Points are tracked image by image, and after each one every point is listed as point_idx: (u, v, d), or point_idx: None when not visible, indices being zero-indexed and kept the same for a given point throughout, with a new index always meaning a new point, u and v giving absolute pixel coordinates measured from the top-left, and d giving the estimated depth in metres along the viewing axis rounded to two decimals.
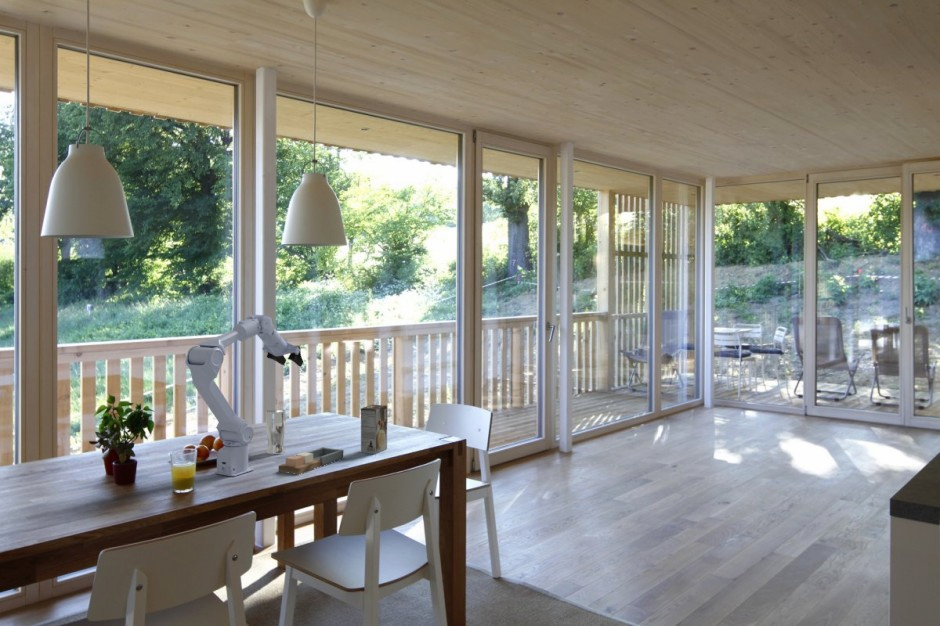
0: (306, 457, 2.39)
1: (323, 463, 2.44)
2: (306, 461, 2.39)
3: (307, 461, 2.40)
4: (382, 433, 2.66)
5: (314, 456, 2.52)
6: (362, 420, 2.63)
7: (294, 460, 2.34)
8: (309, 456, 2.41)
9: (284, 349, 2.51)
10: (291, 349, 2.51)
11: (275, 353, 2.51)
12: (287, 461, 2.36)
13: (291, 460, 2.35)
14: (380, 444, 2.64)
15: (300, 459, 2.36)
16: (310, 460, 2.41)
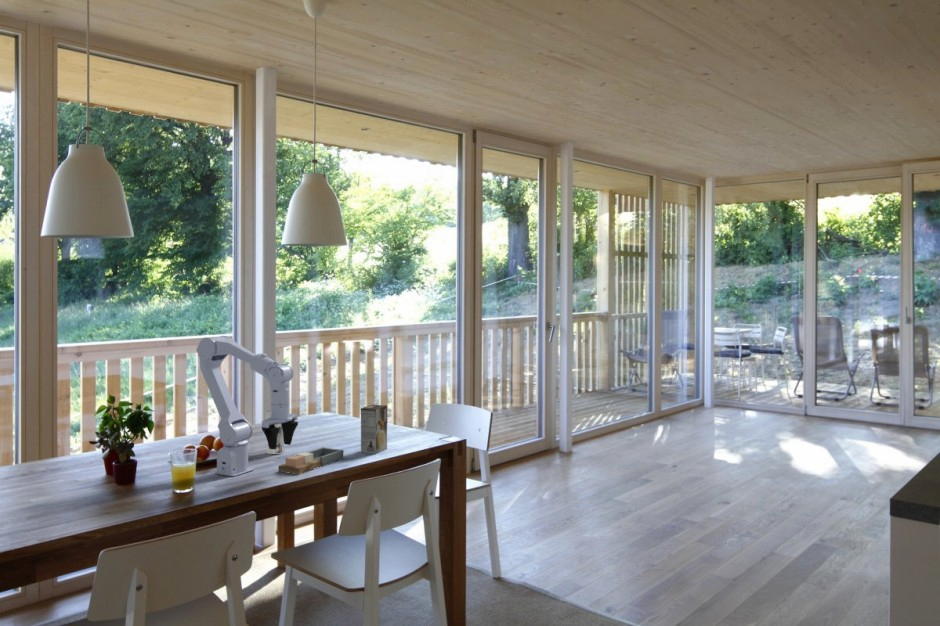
0: (306, 457, 2.39)
1: (323, 463, 2.44)
2: (306, 461, 2.39)
3: (307, 461, 2.40)
4: (382, 433, 2.66)
5: (314, 456, 2.52)
6: (362, 420, 2.63)
7: (294, 460, 2.34)
8: (309, 456, 2.41)
9: (272, 417, 2.28)
10: (268, 420, 2.25)
11: None
12: (287, 461, 2.36)
13: (291, 460, 2.35)
14: (380, 444, 2.64)
15: (300, 459, 2.36)
16: (310, 460, 2.41)
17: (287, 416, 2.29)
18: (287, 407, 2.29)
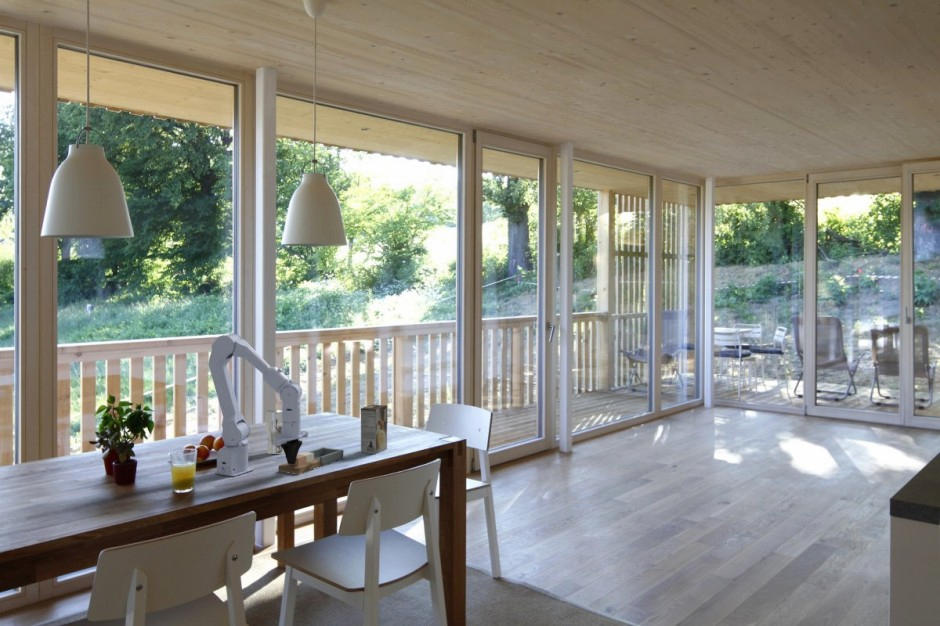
0: (307, 457, 2.40)
1: (323, 463, 2.44)
2: (307, 461, 2.40)
3: (308, 461, 2.40)
4: (382, 432, 2.66)
5: (314, 456, 2.52)
6: (362, 420, 2.63)
7: (297, 459, 2.36)
8: (310, 456, 2.41)
9: (283, 435, 2.33)
10: None
11: None
12: None
13: None
14: (380, 444, 2.64)
15: (303, 458, 2.38)
16: (311, 460, 2.42)
17: (298, 434, 2.34)
18: (298, 425, 2.34)
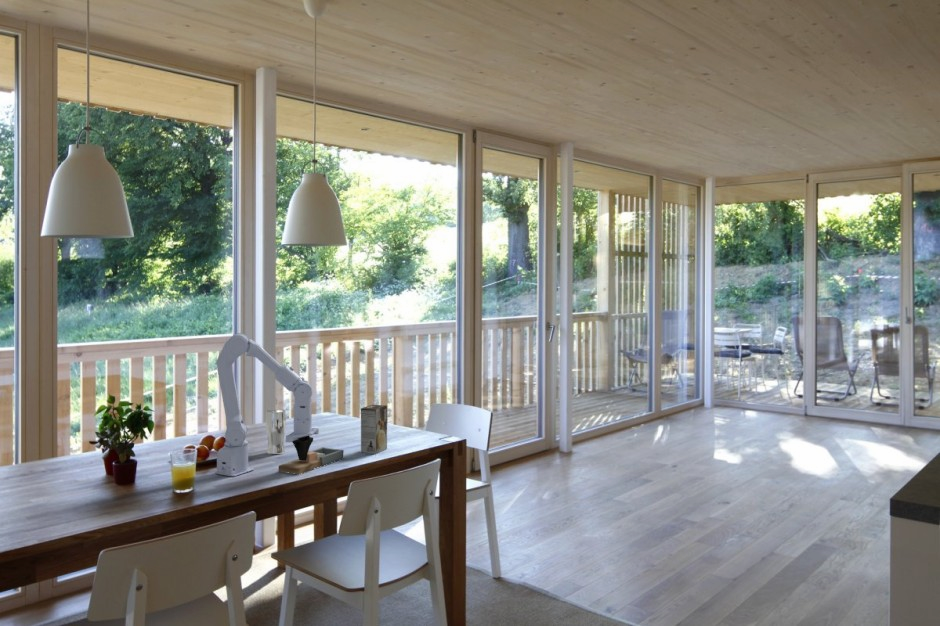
0: (318, 455, 2.45)
1: (323, 463, 2.44)
2: (318, 459, 2.45)
3: (319, 459, 2.45)
4: (382, 432, 2.66)
5: None
6: (362, 420, 2.63)
7: (308, 455, 2.41)
8: (321, 455, 2.46)
9: (295, 432, 2.38)
10: (291, 435, 2.36)
11: None
12: None
13: None
14: (380, 444, 2.64)
15: (314, 454, 2.43)
16: None
17: (309, 431, 2.39)
18: (309, 422, 2.39)
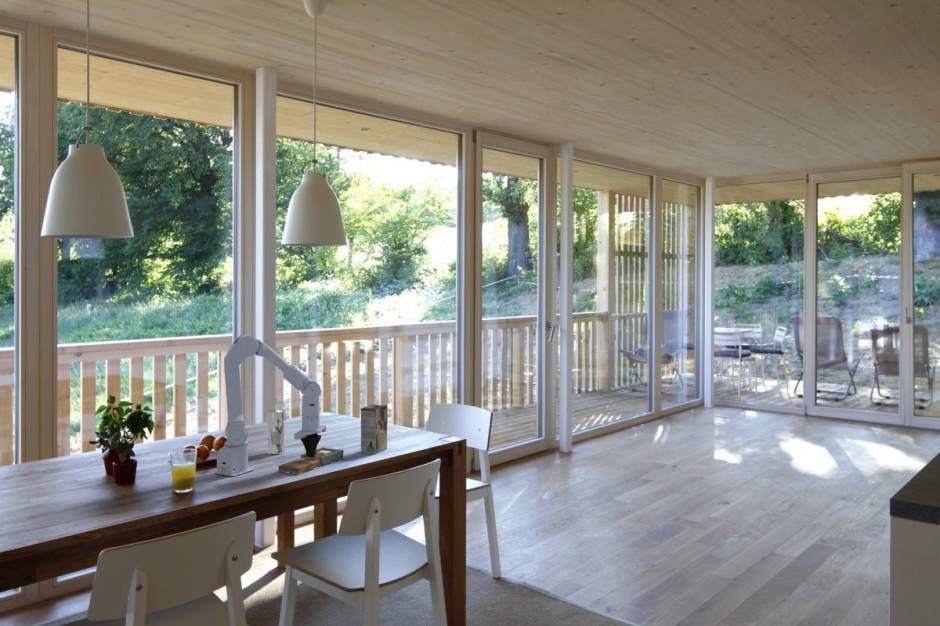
0: None
1: (323, 463, 2.44)
2: None
3: None
4: (382, 432, 2.66)
5: None
6: (362, 420, 2.63)
7: (316, 452, 2.45)
8: None
9: (303, 429, 2.42)
10: (300, 432, 2.39)
11: None
12: None
13: None
14: (380, 444, 2.64)
15: (321, 454, 2.46)
16: None
17: (317, 428, 2.43)
18: (317, 420, 2.43)
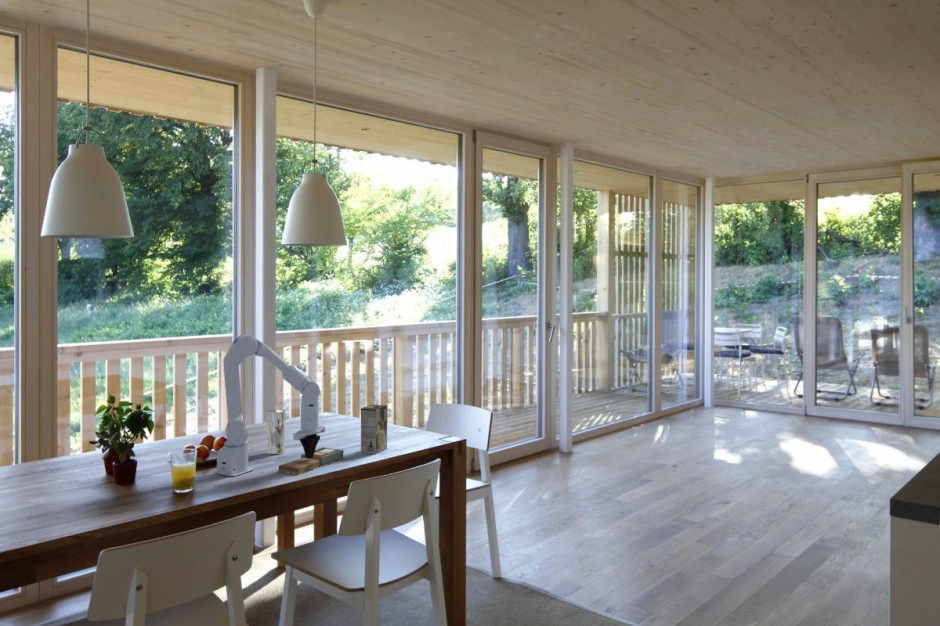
0: (329, 453, 2.50)
1: (323, 463, 2.44)
2: None
3: None
4: (382, 433, 2.66)
5: None
6: (362, 420, 2.63)
7: (319, 456, 2.46)
8: (332, 452, 2.52)
9: (302, 430, 2.41)
10: (299, 433, 2.39)
11: None
12: None
13: (316, 456, 2.47)
14: (380, 444, 2.64)
15: (324, 455, 2.48)
16: None
17: (316, 429, 2.42)
18: (316, 420, 2.42)
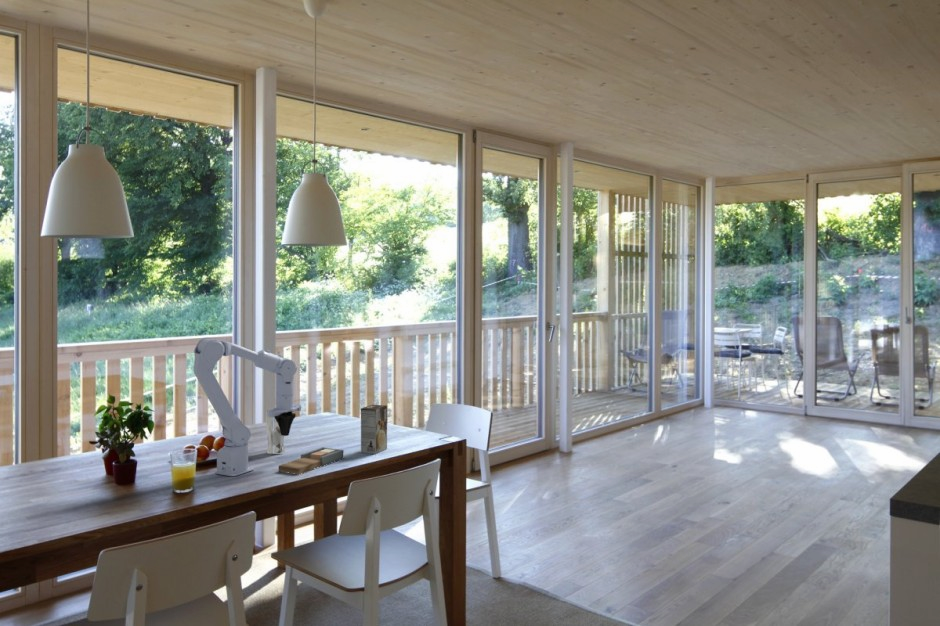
0: (329, 453, 2.50)
1: (323, 463, 2.44)
2: None
3: None
4: (382, 432, 2.66)
5: None
6: (362, 420, 2.63)
7: (319, 456, 2.46)
8: (332, 452, 2.52)
9: (277, 407, 2.42)
10: None
11: None
12: (312, 457, 2.47)
13: (316, 456, 2.47)
14: (380, 444, 2.64)
15: (324, 455, 2.48)
16: None
17: (291, 406, 2.43)
18: (291, 398, 2.43)
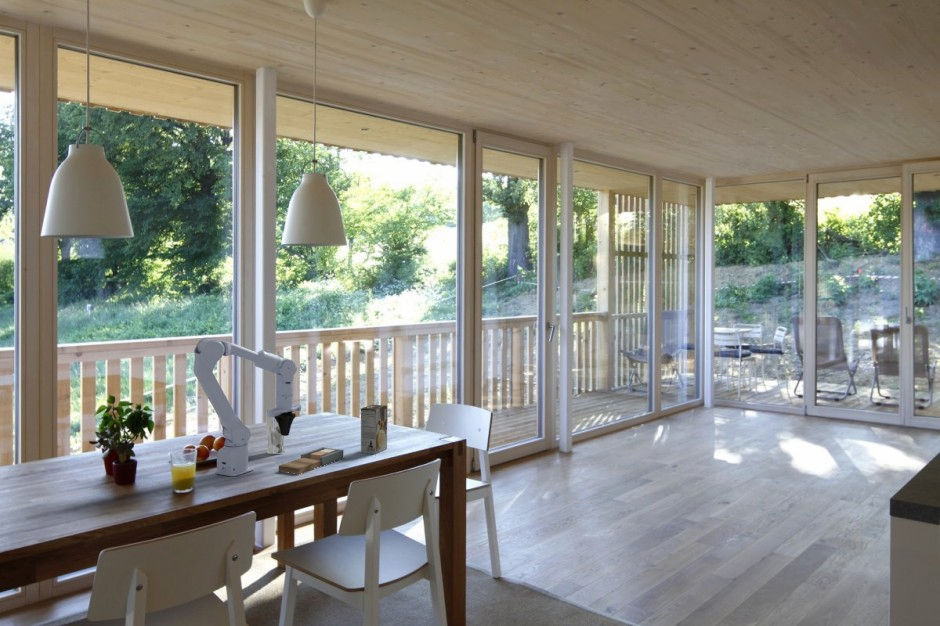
0: (329, 453, 2.50)
1: (323, 463, 2.44)
2: None
3: None
4: (382, 432, 2.66)
5: None
6: (362, 420, 2.63)
7: (319, 456, 2.46)
8: (332, 452, 2.52)
9: (277, 407, 2.42)
10: None
11: None
12: (312, 457, 2.47)
13: (316, 456, 2.47)
14: (380, 444, 2.64)
15: (324, 455, 2.48)
16: None
17: (291, 406, 2.43)
18: (291, 398, 2.43)
